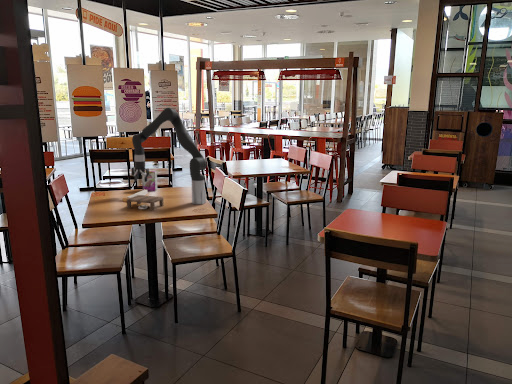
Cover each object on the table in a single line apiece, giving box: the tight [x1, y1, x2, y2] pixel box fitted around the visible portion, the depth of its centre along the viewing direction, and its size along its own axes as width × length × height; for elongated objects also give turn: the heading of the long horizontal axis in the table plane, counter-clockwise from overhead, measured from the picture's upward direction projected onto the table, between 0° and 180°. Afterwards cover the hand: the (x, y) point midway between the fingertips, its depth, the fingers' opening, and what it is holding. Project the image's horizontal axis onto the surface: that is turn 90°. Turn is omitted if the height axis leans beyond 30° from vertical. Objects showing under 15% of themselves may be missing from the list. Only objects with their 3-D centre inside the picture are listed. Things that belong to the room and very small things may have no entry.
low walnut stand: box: [126, 195, 165, 212], centre depth 280 cm, size 20×14×6 cm
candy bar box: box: [141, 169, 158, 192], centre depth 328 cm, size 11×5×16 cm, turn 84°
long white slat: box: [122, 189, 149, 203], centre depth 306 cm, size 8×26×4 cm, turn 164°
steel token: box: [137, 204, 148, 210], centre depth 277 cm, size 6×6×2 cm
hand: (140, 181), depth 309 cm, fingers open, 8 cm apart
